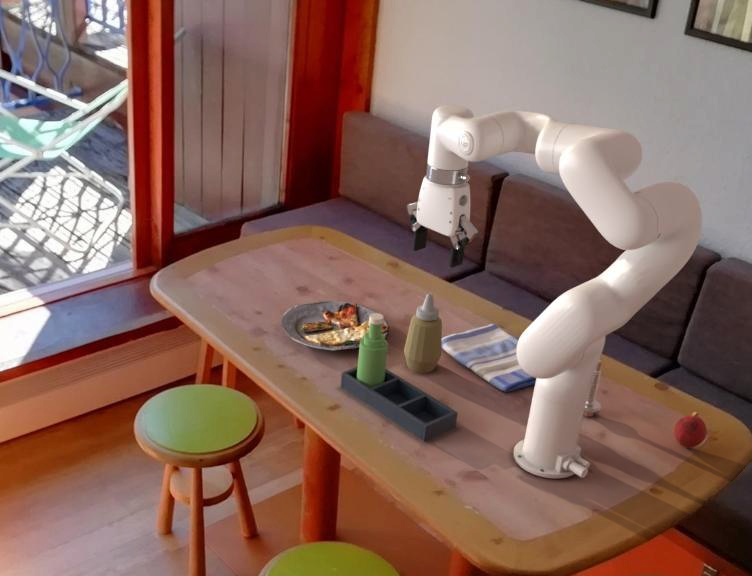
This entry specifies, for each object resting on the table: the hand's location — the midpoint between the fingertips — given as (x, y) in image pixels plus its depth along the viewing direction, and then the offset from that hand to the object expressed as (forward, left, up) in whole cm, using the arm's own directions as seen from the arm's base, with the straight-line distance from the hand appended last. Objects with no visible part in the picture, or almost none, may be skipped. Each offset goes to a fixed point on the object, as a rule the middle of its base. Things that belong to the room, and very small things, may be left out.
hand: (437, 257), depth 207 cm
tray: (-2, +9, -31) cm, 32 cm away
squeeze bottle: (+7, -7, -31) cm, 32 cm away
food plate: (+30, -2, -31) cm, 43 cm away
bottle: (+6, +9, -30) cm, 32 cm away
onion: (-45, -28, -31) cm, 61 cm away
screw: (-26, -22, -31) cm, 46 cm away
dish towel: (-1, -23, -31) cm, 39 cm away
